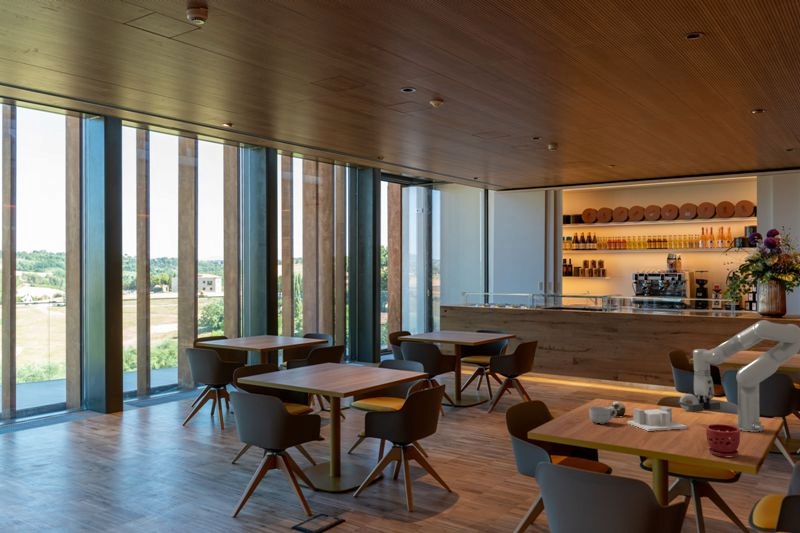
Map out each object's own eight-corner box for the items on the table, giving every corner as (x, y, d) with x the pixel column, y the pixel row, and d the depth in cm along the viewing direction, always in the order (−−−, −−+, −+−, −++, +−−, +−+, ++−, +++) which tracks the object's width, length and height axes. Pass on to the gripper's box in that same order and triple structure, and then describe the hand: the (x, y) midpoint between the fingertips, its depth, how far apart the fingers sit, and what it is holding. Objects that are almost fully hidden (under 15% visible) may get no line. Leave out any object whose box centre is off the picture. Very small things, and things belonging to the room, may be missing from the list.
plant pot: (701, 450, 289) (701, 423, 289) (733, 451, 288) (732, 424, 288) (713, 459, 276) (712, 430, 276) (745, 459, 275) (745, 431, 275)
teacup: (588, 424, 340) (588, 409, 340) (590, 419, 350) (589, 405, 350) (616, 426, 335) (616, 410, 335) (617, 421, 345) (617, 406, 345)
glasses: (720, 409, 338) (720, 402, 338) (692, 412, 334) (691, 405, 334) (704, 405, 349) (704, 398, 349) (677, 408, 345) (676, 401, 345)
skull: (604, 415, 356) (603, 399, 363) (604, 425, 363) (604, 408, 370) (627, 416, 352) (626, 399, 359) (627, 425, 359) (626, 409, 366)
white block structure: (686, 428, 328) (686, 412, 328) (648, 431, 323) (648, 414, 323) (663, 421, 346) (663, 405, 346) (627, 423, 340) (627, 407, 340)
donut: (679, 410, 370) (679, 393, 370) (680, 409, 373) (679, 392, 373) (698, 412, 365) (698, 394, 365) (699, 411, 368) (699, 393, 368)
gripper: (719, 374, 331) (722, 410, 330) (697, 370, 346) (699, 405, 346) (707, 375, 329) (709, 412, 328) (685, 372, 345) (687, 407, 344)
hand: (704, 408), depth 337 cm, fingers closed on glasses, 2 cm apart
